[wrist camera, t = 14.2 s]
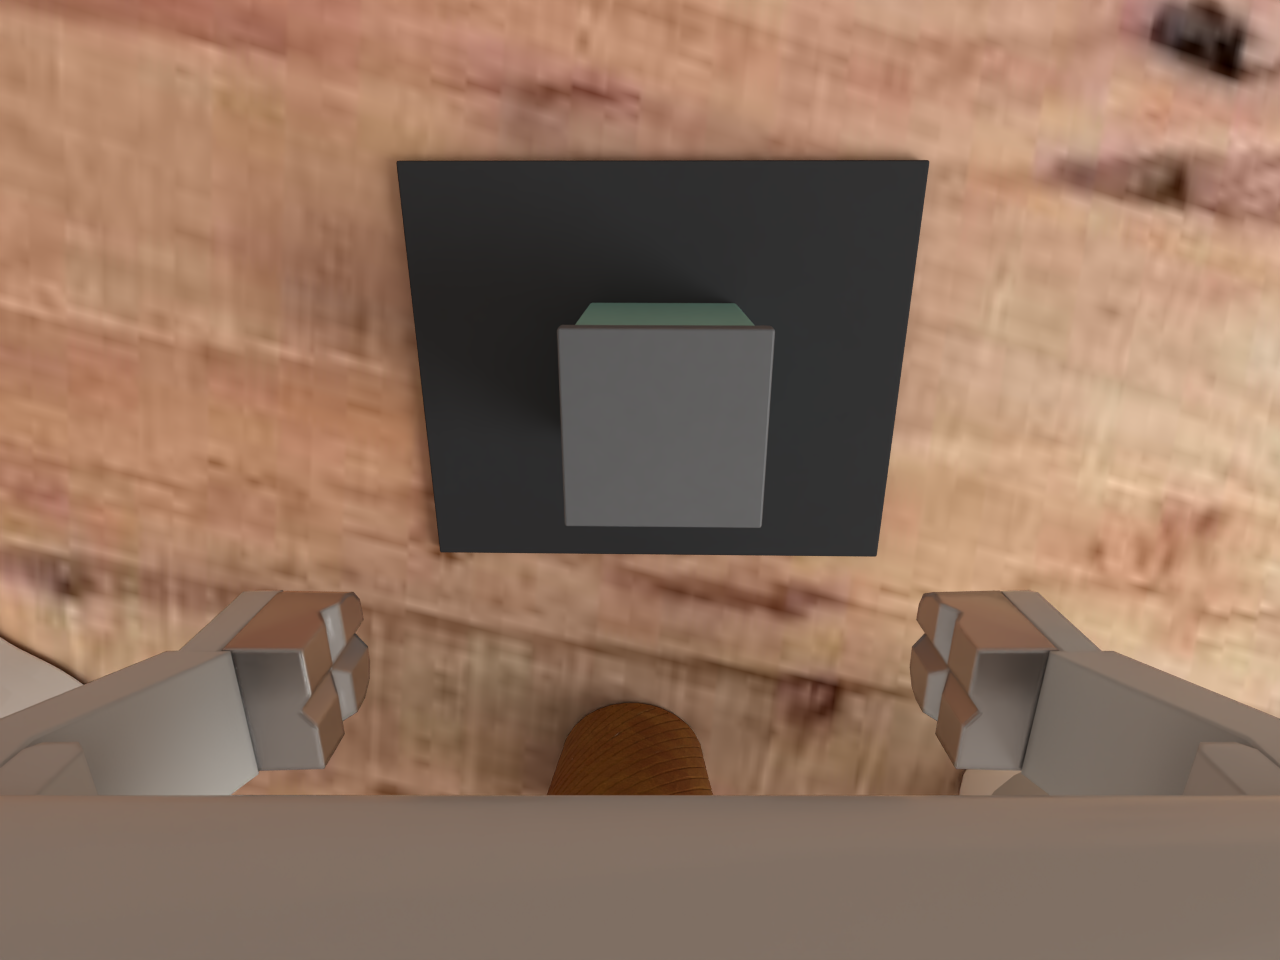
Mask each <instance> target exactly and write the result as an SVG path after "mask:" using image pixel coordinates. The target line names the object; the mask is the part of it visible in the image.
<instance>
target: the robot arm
mask: <svg viewBox="0 0 1280 960" xmlns="http://www.w3.org/2000/svg"><path fill="white" fill-rule="evenodd" d="M363 620H364V619H363V614H362V608H361V603H360V599H359V598H358V597H357V596H356V594H355V593H354V592H322V591H282V590H265V591H247V592H242V593H241V594H240V595H239V596H238V597H237V598H236V599H235V600H234V601H232V602H231V603H230V604H229V605H228V606H227V607H226V608H225V609H224V610H223V611H222V612H220V613H219V614H218V615H217V616H216V617H215V618H214V619H213V620H212V621H211V622H210V623H208V624H207V625H206V626H205V627H204V628H203V629H202V630H201V631H200V632H199V633H198V634H196V635H195V636H194V637H193V638H192V639H191V640H190V641H189V642H188V643H187V644H186V645H184V646H183V647H182V648H181V649H180V650H179V651H166V652H163V653H161V654H158V655H156V656H153V657H151V658H148V659H146V660H143V661H141V662H138V663H136V664H134V665H131V666H129V667H126V668H124V669H121V670H119V671H116V672H114V673H111V674H109V675H106V676H104V677H102V678H99V679H97V680H94V681H92V682H89V683H87V684H84V685H83V684H82V683H81V682H79V681H78V680H76V679H75V678H73V677H72V676H70V675H69V674H67V673H65V672H64V671H62V670H60V669H59V668H57V667H55V666H53V665H51V664H50V663H48V662H46V661H44V660H42V659H39V658H37V657H35V656H33V655H31V654H29V653H27V652H25V651H23V650H21V649H19V648H18V647H16V646H14V645H12V644H10V643H9V642H7V641H6V640H4V639H2V638H1V637H0V960H1280V719H1279V718H1277V717H1274V716H1272V715H1269V714H1267V713H1264V712H1262V711H1259V710H1257V709H1255V708H1252V707H1250V706H1247V705H1245V704H1242V703H1240V702H1237V701H1235V700H1232V699H1230V698H1227V697H1225V696H1223V695H1220V694H1218V693H1215V692H1213V691H1210V690H1208V689H1205V688H1203V687H1200V686H1198V685H1196V684H1193V683H1191V682H1188V681H1186V680H1183V679H1181V678H1178V677H1176V676H1173V675H1171V674H1168V673H1166V672H1164V671H1161V670H1159V669H1156V668H1154V667H1151V666H1149V665H1146V664H1144V663H1141V662H1139V661H1137V660H1134V659H1132V658H1129V657H1127V656H1124V655H1122V654H1119V653H1117V652H1114V651H1101V650H1100V649H1099V648H1098V647H1097V646H1096V645H1095V644H1093V643H1092V642H1091V641H1090V640H1089V639H1088V638H1087V637H1086V636H1085V635H1084V634H1083V633H1081V632H1080V631H1079V630H1078V629H1077V628H1076V627H1075V626H1074V625H1073V624H1072V623H1071V622H1070V621H1068V620H1067V619H1066V618H1065V617H1064V616H1063V615H1062V614H1061V613H1060V612H1059V611H1058V610H1056V609H1055V608H1054V607H1053V606H1052V605H1051V604H1050V603H1049V602H1048V601H1047V600H1046V599H1044V598H1043V597H1042V596H1041V595H1040V594H1039V593H1037V592H1034V591H1031V590H1015V591H966V592H931V593H925V594H923V596H922V599H921V601H920V603H919V607H918V613H917V619H916V620H917V622H918V623H919V625H920V626H921V628H922V629H923V631H924V632H925V634H924V635H923V636H922V637H921V638H920V639H919V640H918V641H917V642H916V643H915V644H914V645H913V646H912V652H911V660H910V675H911V685H912V689H913V692H914V695H915V698H916V701H917V702H918V704H919V706H920V708H921V710H922V712H924V713H925V714H927V715H928V716H930V717H932V718H933V719H935V720H936V721H937V727H936V733H935V734H936V736H937V737H938V739H939V741H940V743H941V744H942V746H943V748H944V749H945V751H946V753H947V754H948V756H949V758H950V760H951V761H952V763H953V765H954V766H955V768H956V769H978V770H1015V771H1021V774H1022V775H1024V776H1025V777H1026V778H1028V779H1029V780H1030V781H1032V782H1033V783H1034V784H1036V785H1037V786H1038V787H1040V788H1041V789H1042V790H1044V791H1045V792H1046V793H1048V794H1049V795H231V794H232V793H234V792H235V791H236V790H238V789H239V788H240V787H242V786H243V785H244V784H246V783H247V782H248V781H250V780H251V779H253V778H254V777H255V776H257V775H258V774H259V772H258V771H265V770H300V769H324V768H325V766H326V765H327V763H328V761H329V760H330V758H331V756H332V755H333V753H334V751H335V749H336V748H337V746H338V744H339V743H340V741H341V739H342V737H343V736H344V734H345V733H344V727H343V721H344V720H345V719H347V718H348V717H350V716H352V715H353V714H355V713H356V712H358V710H359V708H360V706H361V704H362V702H363V700H364V699H365V696H366V691H367V687H368V683H369V679H370V658H369V651H368V646H367V645H366V644H365V643H364V642H363V641H362V640H361V639H360V638H359V637H358V636H357V635H356V634H355V632H356V631H357V629H358V628H359V626H360V625H361V623H362V622H363Z"/></svg>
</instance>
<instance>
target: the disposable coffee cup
mask: <svg viewBox="0 0 1280 960" xmlns="http://www.w3.org/2000/svg"><path fill="white" fill-rule="evenodd" d="M547 795H713V794H712V791H711V786H710V782H709V780H708V774H707V771H706V766H705V762H704V759H703V754H702V750H701V745H700V743H699V741H698V739H697V737H696V736H695V734H694V732H693V731H692V730H691V728H690V727H689V726H688V725H687V724H686V723H685V722H683V721H682V720H681V719H680V718H678V717H677V716H676V715H674V714H672V713H670V712H668V711H666V710H664V709H662V708H659V707H656V706H653V705H647V704H641V703H621V704H615V705H610V706H607V707H604V708H601V709H598V710H596V711H594V712H592V713H590V714H589V715H587V716H585V717H584V718H583V719H582V720H581V721H580V722H579V723H578V724H576V725H575V726H574V728H573V729H572V731H571V732H570V734H569V735H568V737H567V739H566V741H565V744H564V748H563V751H562V754H561V756H560V759H559V762H558V764H557V768H556V771H555V774H554V776H553V779H552V782H551V785H550V788H549V790H548V794H547Z"/></svg>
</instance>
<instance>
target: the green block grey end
mask: <svg viewBox="0 0 1280 960" xmlns="http://www.w3.org/2000/svg"><path fill="white" fill-rule="evenodd" d="M774 339H775V330H774V329H773V328H772V327H771V326H755V325H754V324H753V323H752V322H751V321H750V320H749V318H748V317H747V316H746V315H745V314H744V313H743V311H742V310H741V309H740V308H739V307H738V306H737V305H736V304H735V303H591V304H590V305H589V306H588V308H587V309H586V310H585V312H584V313H583V314H582V316H581V317H580V319H579V320H578V321H577V323H576V324H575V325H561V326H559V328H558V329H557V342H558V367H559V391H560V416H561V440H562V465H563V489H564V514H565V525H566V526H629V527H733V528H760V527H761V526H762V514H763V500H764V485H765V471H766V456H767V441H768V427H769V412H770V398H771V383H772V369H773V354H774Z"/></svg>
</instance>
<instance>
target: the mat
mask: <svg viewBox="0 0 1280 960" xmlns="http://www.w3.org/2000/svg"><path fill="white" fill-rule="evenodd" d="M928 168H929V161H928V160H726V161H397V171H398V180H399V188H400V197H401V206H402V215H403V224H404V233H405V242H406V251H407V260H408V269H409V277H410V286H411V295H412V304H413V313H414V322H415V331H416V340H417V349H418V358H419V366H420V375H421V384H422V393H423V402H424V411H425V420H426V429H427V438H428V446H429V455H430V464H431V473H432V482H433V491H434V500H435V509H436V518H437V527H438V535H439V544H440V551H441V552H477V553H578V554H680V555H781V556H876V555H877V548H878V541H879V533H880V526H881V519H882V511H883V504H884V496H885V489H886V481H887V474H888V466H889V459H890V451H891V444H892V436H893V429H894V421H895V414H896V407H897V399H898V392H899V384H900V377H901V369H902V362H903V354H904V347H905V339H906V332H907V324H908V317H909V309H910V302H911V295H912V287H913V280H914V272H915V265H916V257H917V250H918V242H919V235H920V227H921V220H922V212H923V205H924V197H925V190H926V183H927V175H928ZM591 303H735V304H736V305H737V306H738V307H739V308H740V309H741V310H742V311H743V313H744V314H745V315H746V316H747V317H748V318H749V320H750V321H751V322H752V323H753V324H754V325H755V326H771V327H772V328H773V329H774V330H775V339H774V354H773V369H772V383H771V398H770V412H769V427H768V441H767V456H766V471H765V485H764V500H763V514H762V526H761V527H760V528H733V527H629V526H566V525H565V514H564V489H563V465H562V440H561V416H560V391H559V367H558V342H557V329H558V328H559V326H561V325H575V324H576V323H577V321H578V320H579V319H580V317H581V316H582V314H583V313H584V312H585V310H586V309H587V308H588V306H589V305H590V304H591Z"/></svg>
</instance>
